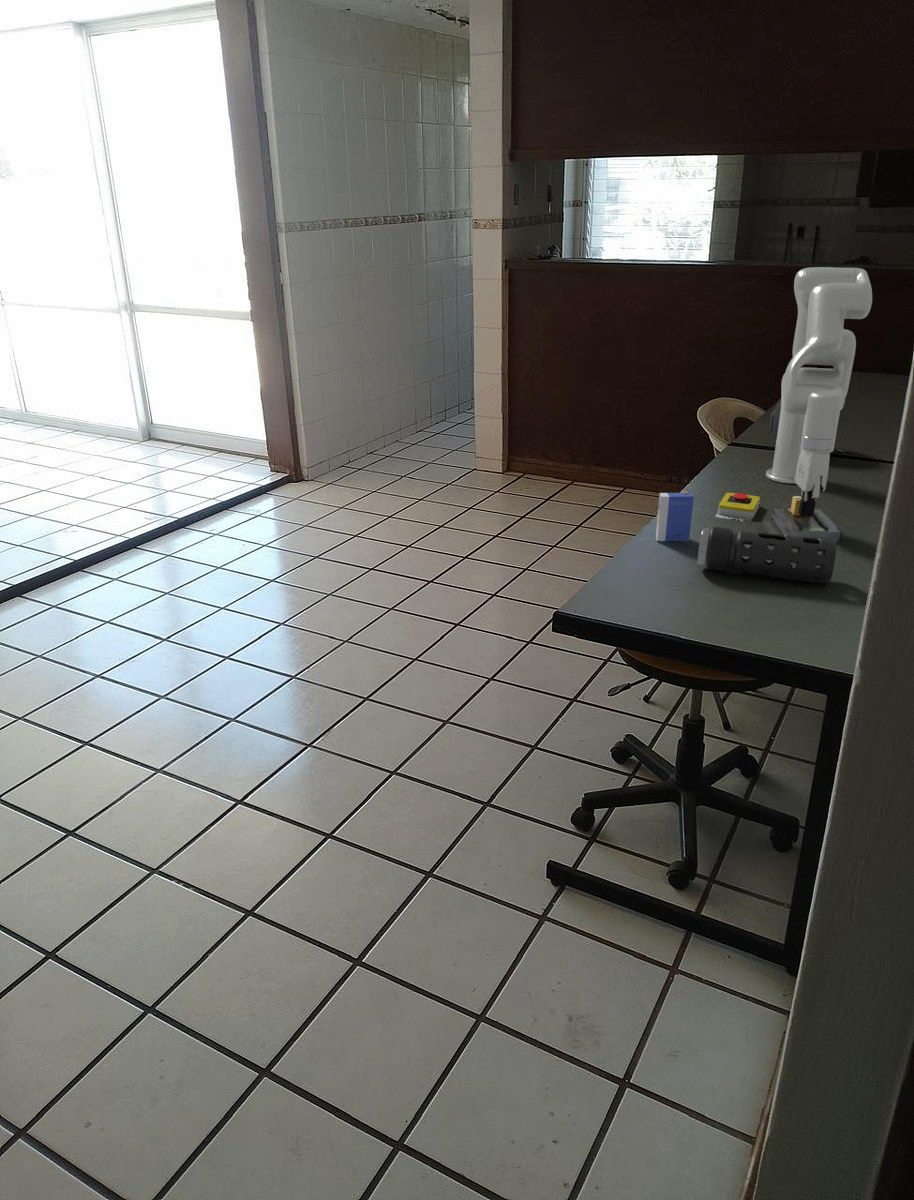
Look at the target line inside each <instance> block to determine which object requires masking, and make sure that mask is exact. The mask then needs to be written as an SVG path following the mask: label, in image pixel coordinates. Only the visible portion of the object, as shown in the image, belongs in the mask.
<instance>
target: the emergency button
mask: <svg viewBox="0 0 914 1200" xmlns="http://www.w3.org/2000/svg"><path fill="white" fill-rule="evenodd" d="M760 501H761V497H760V496H758V495H757V496H756V495H751V494H744V493H737V492H735V493H734V492H726V493H725V494H724V496H723V498H722V499H721V501H720V502H719V503H718V509H717V512H716V515H715V517H716V518H717V517H718V518H717V519H723V518H725V519H726V520H730V519H733V518H739V517H741V518H742V520H741V519H739V520H740V521H739V522H744V521H743V518H753V517H754V518H755V516H756V515H755V513H756V512H757V513H758V511H759V509H760V507H759V504H760V503H761V502H760ZM760 505H761V504H760ZM758 508H759V509H758ZM757 510H758V511H757ZM757 513H756V514H757ZM754 515H755V516H754ZM730 516H732V517H733V518H732V517H730ZM728 517H730V518H728ZM754 518H753V519H754ZM735 521H737V519H736V520H735Z"/></svg>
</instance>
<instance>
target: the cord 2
mask: <svg viewBox="0 0 914 1200" xmlns="http://www.w3.org/2000/svg"><path fill="white" fill-rule="evenodd" d="M826 517H827V518H828V519H829V520H830V521H831V522H832V523H833V524H834V525H835V527H836V528H837V529H838V530H839V527H840V526H838V525H837V524H836V523H835V522H834V520H833V519H832V518H831V517H830V516H828V515H826Z"/></svg>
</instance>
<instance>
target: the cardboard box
mask: <svg viewBox="0 0 914 1200" xmlns="http://www.w3.org/2000/svg"><path fill="white" fill-rule="evenodd" d="M800 501H801V495H800V496H798V495H793V496H792V499H791V505H790V506H791V507H790V509H791V512H792V514H793V515H800V514H799V507H800Z"/></svg>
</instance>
